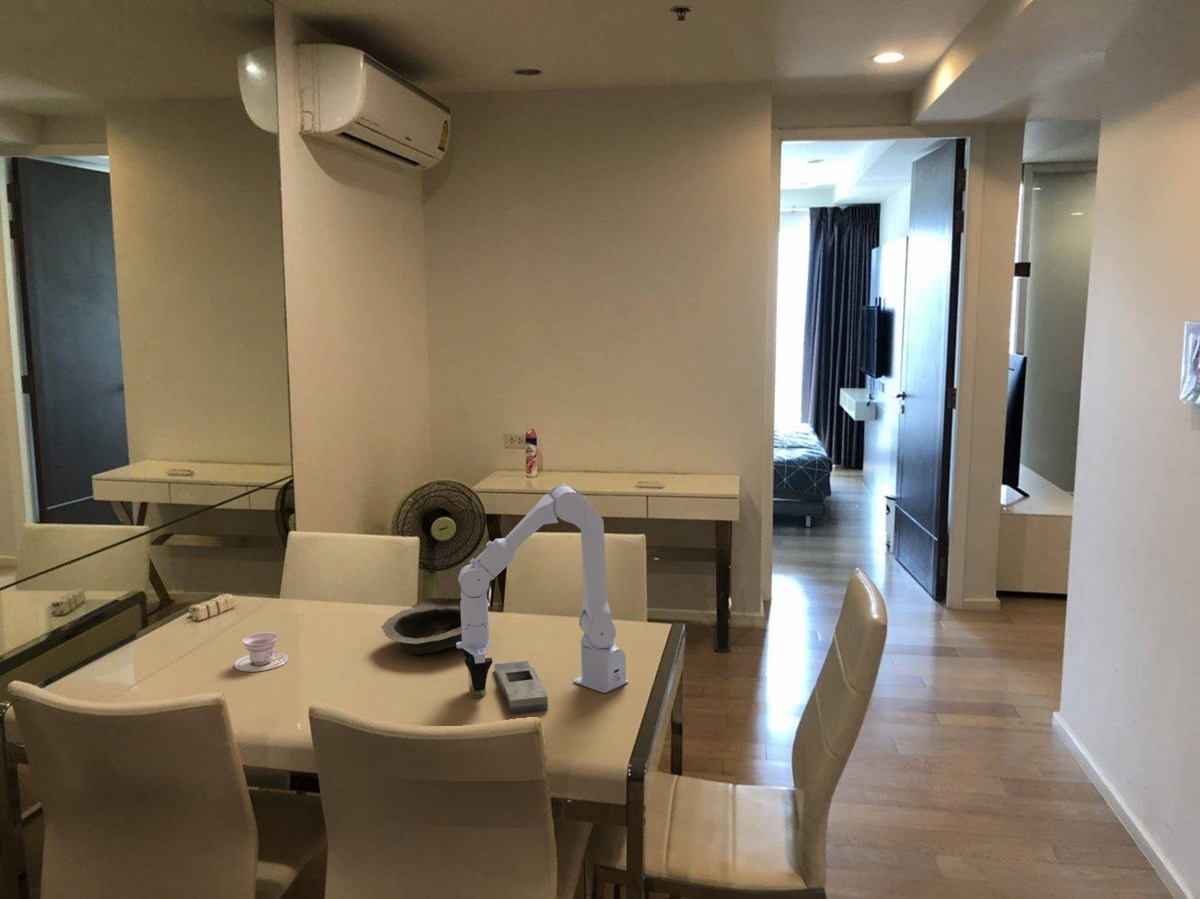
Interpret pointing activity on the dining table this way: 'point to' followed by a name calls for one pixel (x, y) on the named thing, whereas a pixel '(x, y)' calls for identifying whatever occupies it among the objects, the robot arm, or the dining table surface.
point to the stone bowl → (426, 626)
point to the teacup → (260, 652)
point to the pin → (471, 690)
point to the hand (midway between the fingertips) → (477, 683)
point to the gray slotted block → (521, 687)
